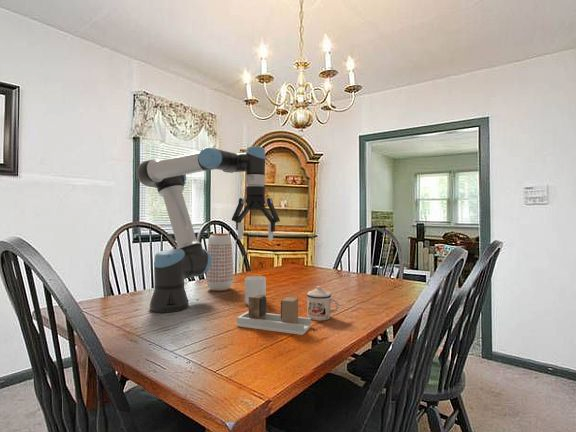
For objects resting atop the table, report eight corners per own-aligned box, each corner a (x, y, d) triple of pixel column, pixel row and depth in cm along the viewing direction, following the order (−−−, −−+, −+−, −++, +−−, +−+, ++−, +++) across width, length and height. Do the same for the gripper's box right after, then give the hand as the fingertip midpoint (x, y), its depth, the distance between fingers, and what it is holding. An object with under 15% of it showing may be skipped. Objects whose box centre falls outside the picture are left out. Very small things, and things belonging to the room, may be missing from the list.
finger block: (248, 322, 123) (248, 296, 123) (255, 318, 128) (255, 293, 128) (260, 324, 122) (260, 298, 122) (266, 320, 126) (266, 295, 126)
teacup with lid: (303, 319, 131) (303, 287, 131) (310, 312, 139) (310, 283, 139) (335, 323, 127) (336, 290, 127) (340, 316, 135) (341, 285, 135)
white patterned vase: (230, 292, 173) (230, 234, 173) (203, 292, 173) (203, 234, 173) (235, 286, 187) (235, 233, 186) (209, 286, 187) (209, 232, 186)
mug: (259, 307, 147) (259, 280, 146) (240, 305, 150) (240, 279, 150) (272, 301, 157) (272, 276, 157) (254, 298, 161) (255, 274, 161)
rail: (236, 326, 123) (237, 297, 123) (248, 319, 131) (248, 291, 131) (302, 334, 114) (303, 303, 114) (310, 326, 123) (310, 297, 122)
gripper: (223, 185, 143) (223, 238, 143) (280, 184, 133) (280, 241, 134) (233, 187, 150) (232, 237, 150) (288, 186, 140) (287, 240, 141)
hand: (255, 239), depth 142 cm, fingers open, 13 cm apart
